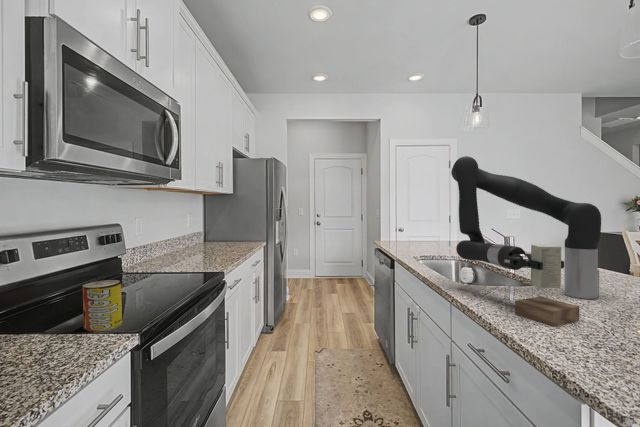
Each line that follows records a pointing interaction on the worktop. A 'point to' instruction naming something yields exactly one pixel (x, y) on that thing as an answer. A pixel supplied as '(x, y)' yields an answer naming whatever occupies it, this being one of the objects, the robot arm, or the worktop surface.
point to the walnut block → (547, 311)
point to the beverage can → (102, 305)
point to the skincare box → (546, 266)
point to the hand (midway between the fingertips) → (552, 265)
